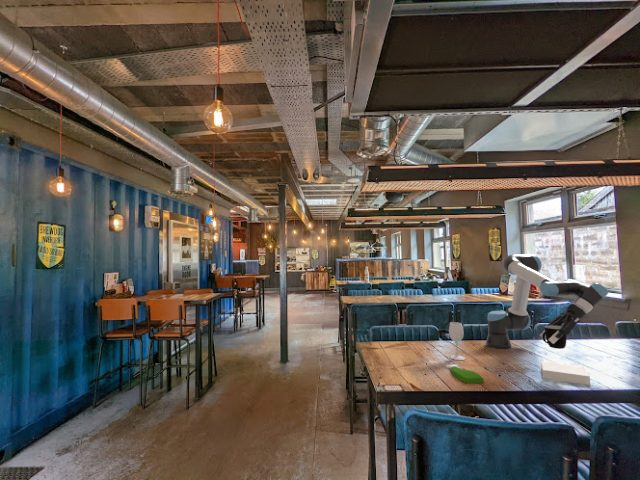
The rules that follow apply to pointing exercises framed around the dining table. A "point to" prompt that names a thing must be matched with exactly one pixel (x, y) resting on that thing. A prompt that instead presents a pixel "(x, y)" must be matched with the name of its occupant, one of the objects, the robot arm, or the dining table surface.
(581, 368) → the flat plate
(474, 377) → the spray bottle
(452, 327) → the wineglass
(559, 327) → the mug
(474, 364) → the dining table surface
